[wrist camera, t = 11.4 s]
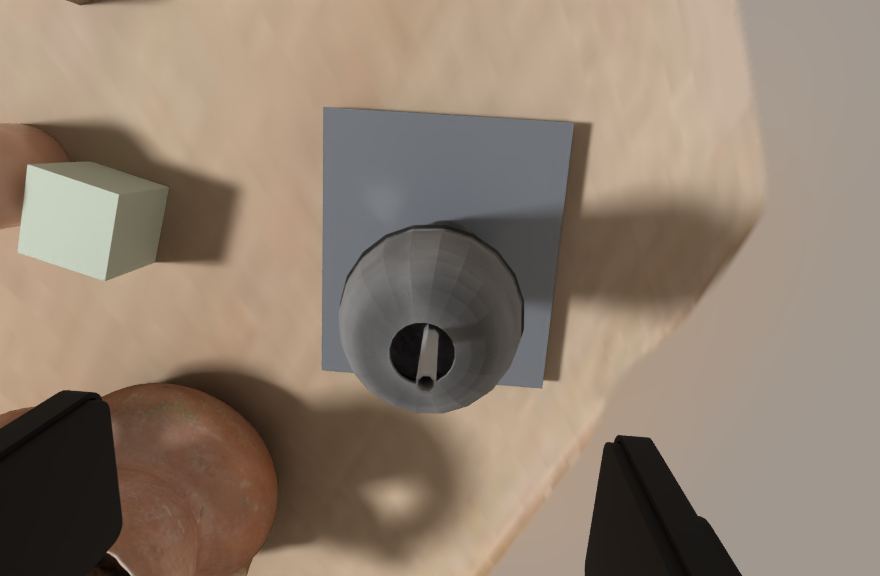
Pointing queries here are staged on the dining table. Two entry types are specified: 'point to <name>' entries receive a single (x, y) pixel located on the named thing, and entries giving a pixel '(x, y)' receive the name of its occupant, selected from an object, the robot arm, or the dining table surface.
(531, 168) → the slate board
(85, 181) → the sage block
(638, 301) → the dining table surface
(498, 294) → the beverage cup
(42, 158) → the peach rounded capsule
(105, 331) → the dining table surface
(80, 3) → the walnut block
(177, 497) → the ceramic jug
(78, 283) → the dining table surface
